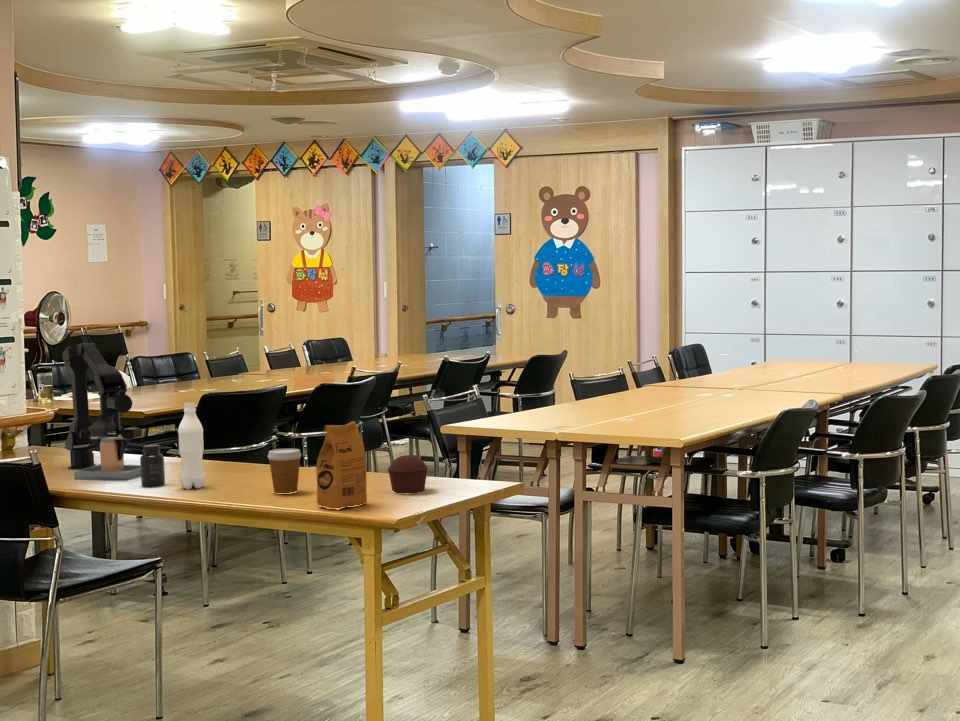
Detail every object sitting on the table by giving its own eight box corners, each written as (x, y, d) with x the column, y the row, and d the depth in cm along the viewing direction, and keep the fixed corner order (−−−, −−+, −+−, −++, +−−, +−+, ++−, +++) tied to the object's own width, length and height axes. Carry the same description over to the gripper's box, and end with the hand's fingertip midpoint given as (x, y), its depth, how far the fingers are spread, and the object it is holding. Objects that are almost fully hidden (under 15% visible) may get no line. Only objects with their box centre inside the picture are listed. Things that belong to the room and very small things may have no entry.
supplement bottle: (168, 483, 353) (167, 443, 352) (160, 487, 347) (158, 447, 346) (146, 483, 354) (144, 443, 353) (137, 487, 347) (135, 447, 346)
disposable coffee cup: (262, 492, 334) (261, 450, 333) (292, 488, 340) (291, 447, 339) (278, 497, 327) (277, 454, 326) (309, 493, 332) (307, 450, 332)
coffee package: (311, 507, 311) (308, 424, 309) (347, 500, 320) (345, 419, 318) (335, 512, 304) (333, 427, 303) (372, 504, 313) (369, 422, 312)
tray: (74, 479, 365) (74, 471, 365) (99, 471, 378) (99, 464, 378) (126, 480, 360) (126, 472, 360) (150, 472, 374) (150, 465, 374)
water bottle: (210, 486, 347) (207, 401, 345) (196, 490, 340) (193, 404, 339) (189, 485, 349) (185, 401, 348) (175, 489, 343) (171, 403, 341)
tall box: (101, 471, 367) (99, 439, 367) (109, 468, 372) (108, 436, 371) (115, 471, 366) (114, 439, 365) (124, 468, 371) (122, 437, 370)
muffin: (390, 488, 338) (389, 453, 337) (429, 487, 337) (428, 452, 337) (386, 495, 326) (385, 459, 325) (427, 494, 326) (426, 458, 325)
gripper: (68, 413, 362) (70, 463, 363) (122, 413, 358) (125, 465, 359) (89, 409, 373) (91, 458, 374) (142, 409, 368) (144, 459, 370)
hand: (112, 460), depth 369 cm, fingers closed on tall box, 5 cm apart
